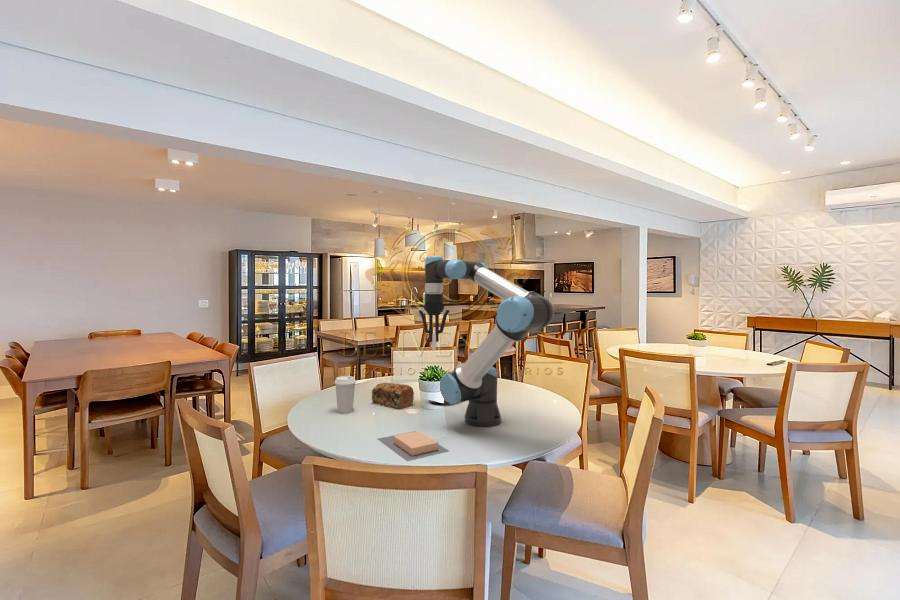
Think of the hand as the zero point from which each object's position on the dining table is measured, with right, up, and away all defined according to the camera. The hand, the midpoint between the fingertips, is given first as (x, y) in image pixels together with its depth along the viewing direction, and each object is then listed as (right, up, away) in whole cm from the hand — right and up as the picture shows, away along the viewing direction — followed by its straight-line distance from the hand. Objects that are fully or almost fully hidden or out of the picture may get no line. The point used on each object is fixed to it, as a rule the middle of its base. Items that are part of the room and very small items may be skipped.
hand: (433, 349), depth 180 cm
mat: (-6, -30, -30) cm, 43 cm away
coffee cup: (-40, -29, +12) cm, 51 cm away
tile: (-9, -28, -26) cm, 39 cm away
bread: (-21, -29, +24) cm, 43 cm away
